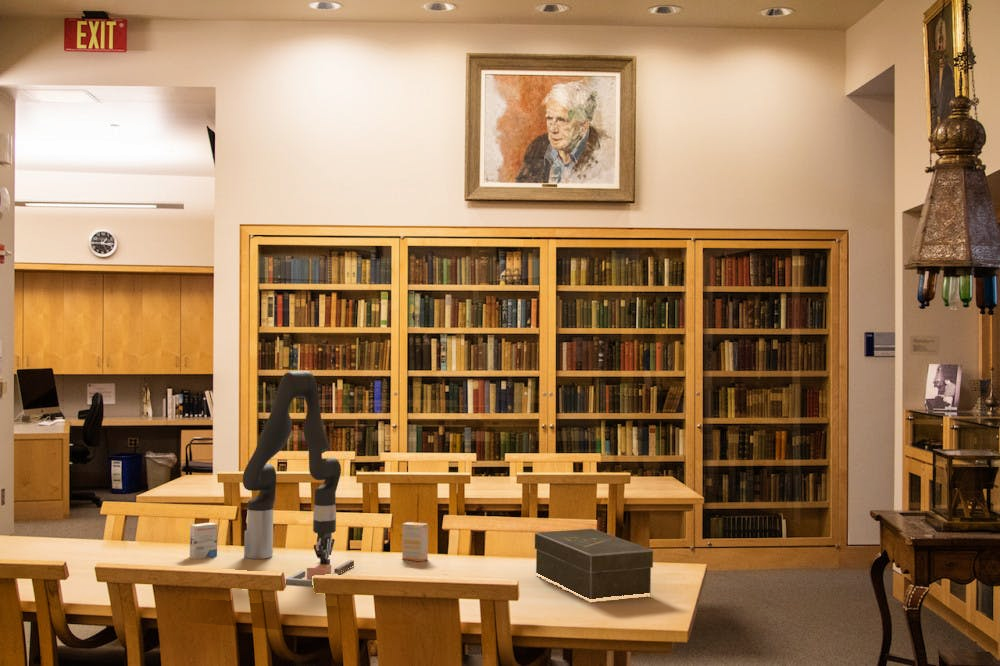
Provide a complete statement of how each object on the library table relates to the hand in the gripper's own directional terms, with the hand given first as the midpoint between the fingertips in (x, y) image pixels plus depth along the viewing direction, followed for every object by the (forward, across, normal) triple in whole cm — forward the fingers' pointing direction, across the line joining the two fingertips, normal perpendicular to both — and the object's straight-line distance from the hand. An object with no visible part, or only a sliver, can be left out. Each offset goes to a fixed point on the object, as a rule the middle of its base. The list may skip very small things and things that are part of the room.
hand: (323, 569), depth 341 cm
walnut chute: (+2, -8, 0) cm, 8 cm away
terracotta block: (+2, +5, 0) cm, 5 cm away
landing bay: (+2, +9, 0) cm, 9 cm away
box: (+2, -9, +89) cm, 89 cm away
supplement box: (+2, -32, +22) cm, 39 cm away
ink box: (+2, -14, -52) cm, 54 cm away
